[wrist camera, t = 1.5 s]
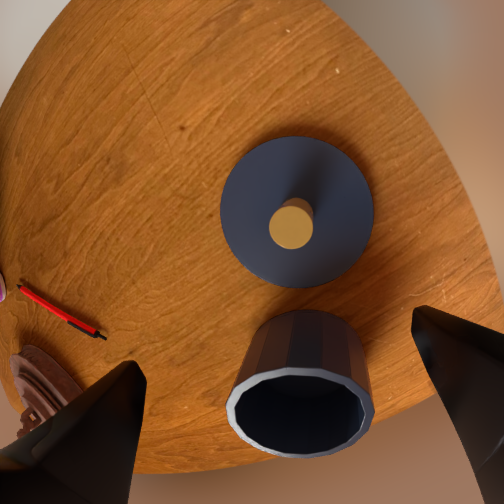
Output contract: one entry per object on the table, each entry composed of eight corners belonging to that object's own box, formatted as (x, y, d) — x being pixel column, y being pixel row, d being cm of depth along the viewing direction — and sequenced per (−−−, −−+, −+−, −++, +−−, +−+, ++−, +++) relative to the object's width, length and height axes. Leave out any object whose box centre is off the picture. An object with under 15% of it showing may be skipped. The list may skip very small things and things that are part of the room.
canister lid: (370, 138, 18) (389, 128, 13) (366, 284, 21) (379, 319, 16) (220, 141, 20) (190, 134, 15) (229, 280, 23) (205, 312, 18)
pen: (108, 339, 29) (102, 344, 28) (18, 286, 31) (13, 289, 30) (107, 333, 29) (102, 338, 28) (18, 281, 31) (12, 283, 30)
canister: (371, 310, 22) (389, 367, 14) (353, 399, 24) (357, 458, 17) (246, 306, 24) (218, 360, 17) (251, 394, 27) (232, 450, 20)
